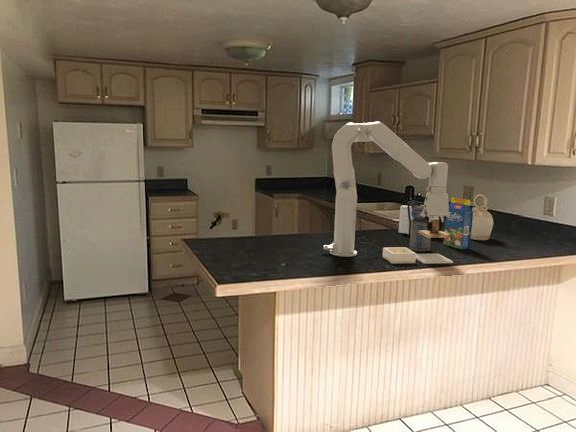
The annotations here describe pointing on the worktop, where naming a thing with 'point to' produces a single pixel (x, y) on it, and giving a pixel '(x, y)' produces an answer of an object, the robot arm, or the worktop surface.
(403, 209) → the skincare box
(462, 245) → the blue food package
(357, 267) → the worktop surface
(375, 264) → the worktop surface
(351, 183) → the robot arm
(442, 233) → the lid
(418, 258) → the box
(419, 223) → the beverage bottle
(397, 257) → the dish
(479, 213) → the jug
